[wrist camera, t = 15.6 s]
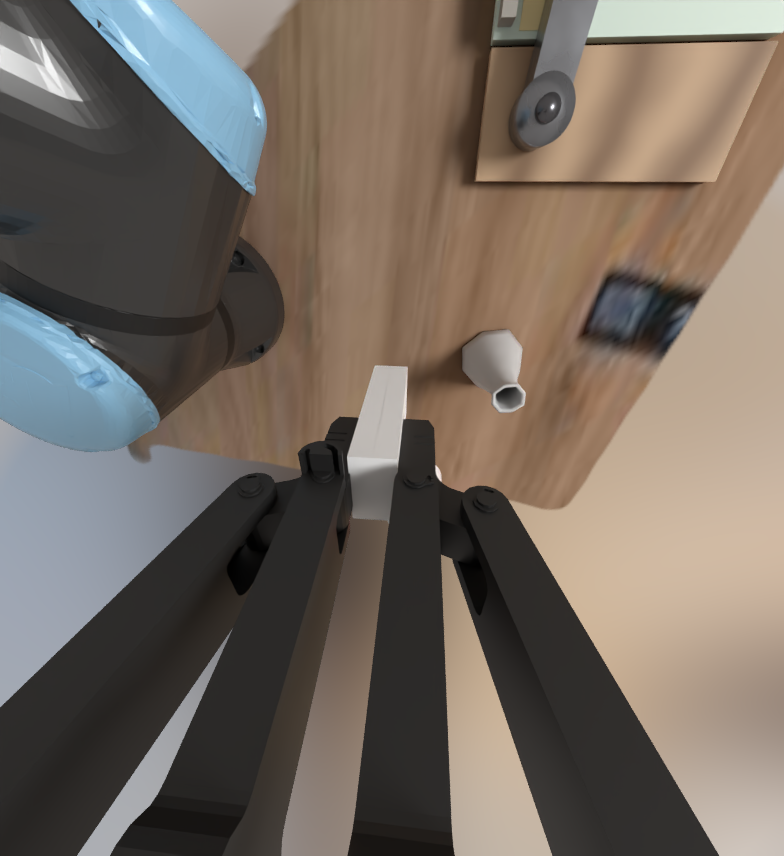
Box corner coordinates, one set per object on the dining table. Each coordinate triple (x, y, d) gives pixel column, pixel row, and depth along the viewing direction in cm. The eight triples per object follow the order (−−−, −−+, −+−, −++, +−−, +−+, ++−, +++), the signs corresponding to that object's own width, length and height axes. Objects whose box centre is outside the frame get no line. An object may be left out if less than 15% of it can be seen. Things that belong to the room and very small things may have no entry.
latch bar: (549, 154, 28) (565, 148, 24) (501, 147, 28) (512, 140, 24) (626, -105, 21) (664, -162, 17) (562, -113, 21) (589, -173, 17)
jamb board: (474, 181, 30) (475, 181, 29) (489, 53, 26) (491, 47, 25) (705, 182, 29) (715, 181, 28) (764, 47, 24) (778, 40, 23)
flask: (452, 342, 39) (459, 380, 31) (514, 317, 37) (540, 351, 29) (471, 392, 42) (482, 438, 34) (528, 372, 40) (555, 416, 32)
